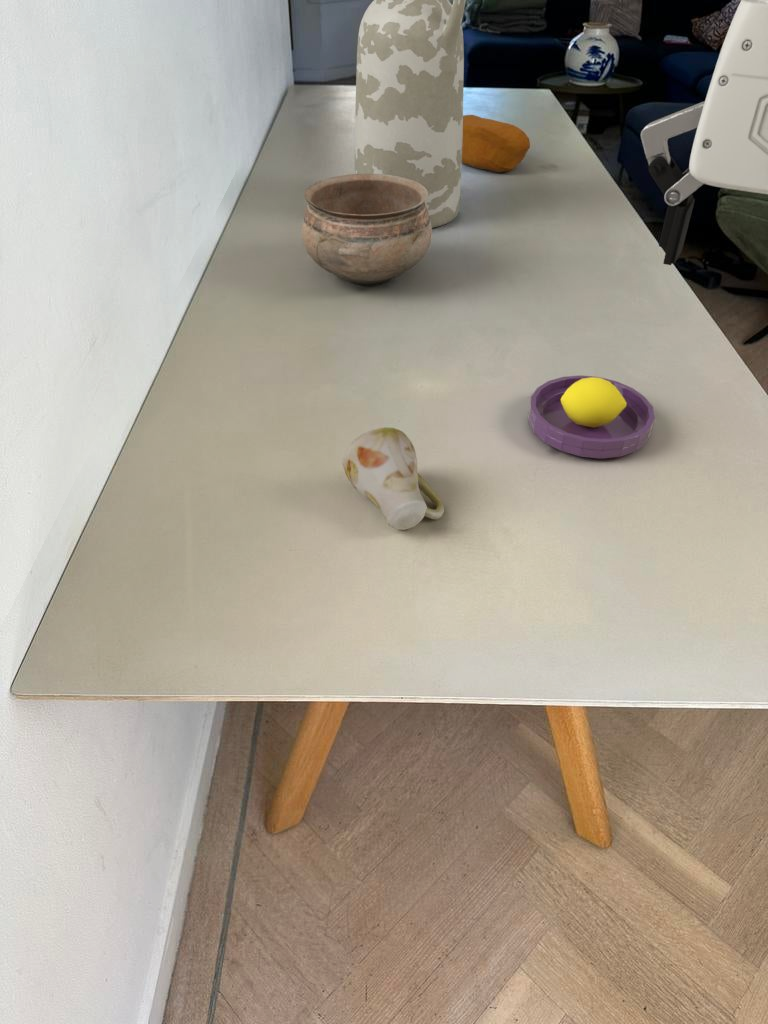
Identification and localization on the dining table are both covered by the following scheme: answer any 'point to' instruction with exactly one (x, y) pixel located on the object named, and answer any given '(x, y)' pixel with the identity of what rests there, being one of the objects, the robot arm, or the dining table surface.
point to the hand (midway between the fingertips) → (742, 270)
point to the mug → (390, 477)
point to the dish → (588, 441)
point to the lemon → (592, 402)
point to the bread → (492, 144)
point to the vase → (412, 97)
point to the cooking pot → (366, 226)
